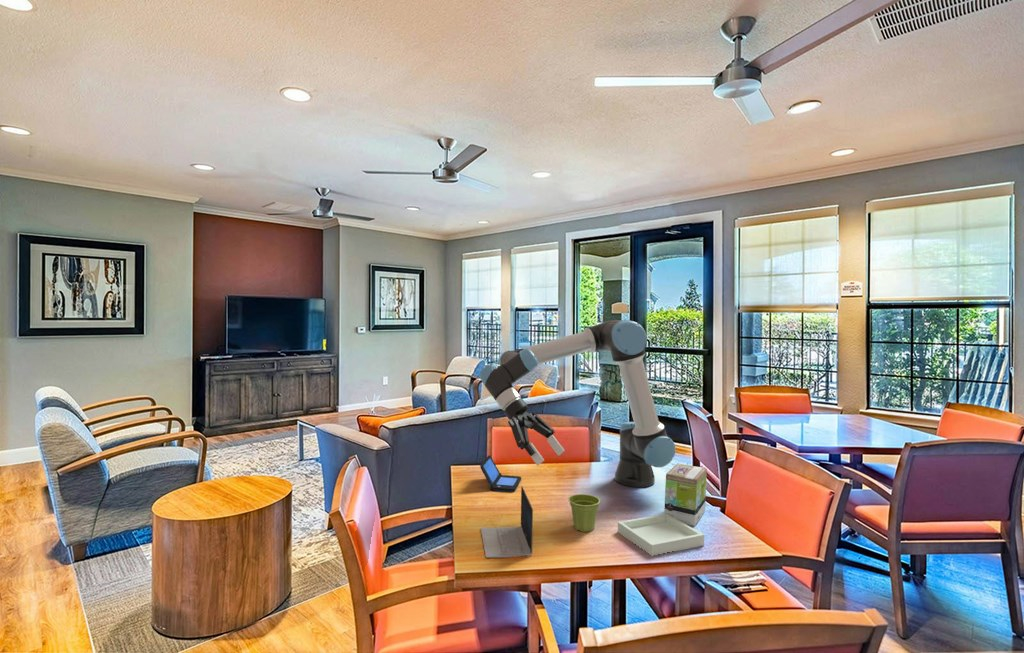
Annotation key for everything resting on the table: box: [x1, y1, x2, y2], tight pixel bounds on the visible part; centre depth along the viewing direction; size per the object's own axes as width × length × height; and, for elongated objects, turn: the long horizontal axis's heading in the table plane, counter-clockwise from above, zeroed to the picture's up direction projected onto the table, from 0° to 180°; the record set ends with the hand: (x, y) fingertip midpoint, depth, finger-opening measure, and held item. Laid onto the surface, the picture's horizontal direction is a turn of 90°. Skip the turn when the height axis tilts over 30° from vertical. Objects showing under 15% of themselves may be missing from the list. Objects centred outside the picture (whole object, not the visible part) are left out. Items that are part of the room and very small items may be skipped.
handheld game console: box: [479, 455, 522, 493], centre depth 189 cm, size 16×13×9 cm
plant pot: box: [568, 493, 601, 533], centre depth 151 cm, size 9×9×9 cm
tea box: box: [663, 462, 708, 527], centre depth 161 cm, size 15×10×15 cm
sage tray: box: [617, 513, 705, 557], centre depth 144 cm, size 18×16×3 cm
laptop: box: [480, 486, 534, 559], centre depth 140 cm, size 18×12×13 cm
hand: (551, 458), depth 156 cm, fingers open, 13 cm apart
